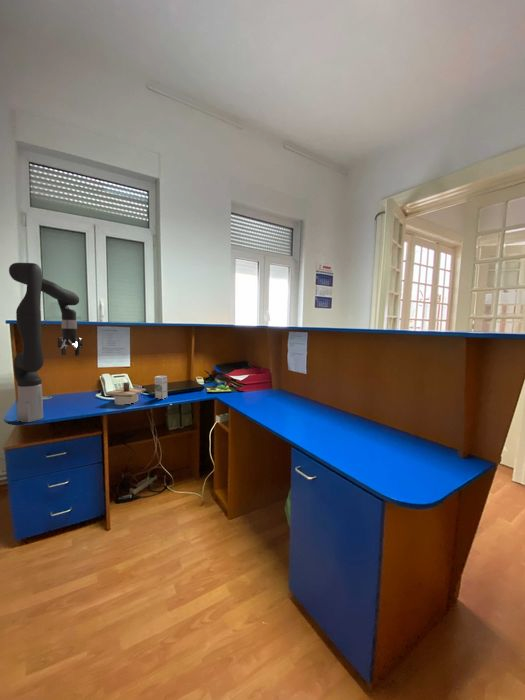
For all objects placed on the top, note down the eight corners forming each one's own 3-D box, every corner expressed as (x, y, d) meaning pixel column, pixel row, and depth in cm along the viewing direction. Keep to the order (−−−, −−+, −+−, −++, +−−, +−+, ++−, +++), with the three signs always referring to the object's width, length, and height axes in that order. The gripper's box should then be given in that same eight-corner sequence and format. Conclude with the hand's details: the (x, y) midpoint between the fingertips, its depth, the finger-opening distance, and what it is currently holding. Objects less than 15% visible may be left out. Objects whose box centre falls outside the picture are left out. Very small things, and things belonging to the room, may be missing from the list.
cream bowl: (130, 405, 171) (130, 396, 170) (110, 404, 173) (109, 394, 172) (142, 399, 183) (142, 391, 183) (123, 398, 185) (123, 389, 185)
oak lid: (131, 397, 169) (131, 386, 168) (105, 395, 171) (105, 385, 170) (145, 390, 184) (145, 380, 184) (122, 389, 186) (122, 379, 186)
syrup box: (167, 397, 190) (167, 375, 188) (162, 400, 184) (162, 377, 183) (160, 396, 191) (159, 375, 190) (154, 399, 185) (154, 376, 184)
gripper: (53, 327, 167) (54, 355, 169) (75, 328, 165) (76, 356, 167) (63, 327, 175) (64, 354, 176) (85, 327, 173) (86, 355, 174)
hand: (70, 355), depth 172 cm, fingers open, 8 cm apart
